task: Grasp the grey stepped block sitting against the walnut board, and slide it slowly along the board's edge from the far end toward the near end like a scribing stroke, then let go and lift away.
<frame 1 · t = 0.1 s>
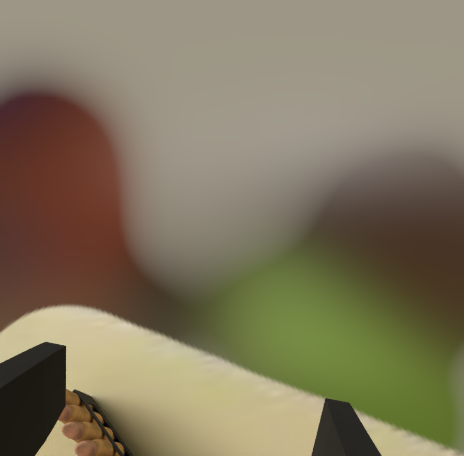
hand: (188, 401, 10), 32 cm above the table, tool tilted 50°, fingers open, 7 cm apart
ammunition clip: (112, 445, 38), on the table
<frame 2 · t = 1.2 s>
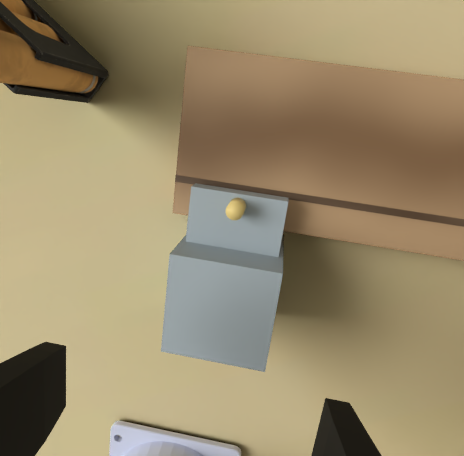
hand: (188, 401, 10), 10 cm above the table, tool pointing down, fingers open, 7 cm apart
ammunition clip: (15, 8, 18), on the table
board: (404, 163, 17), on the table
grey stepped block: (234, 267, 20), on the table
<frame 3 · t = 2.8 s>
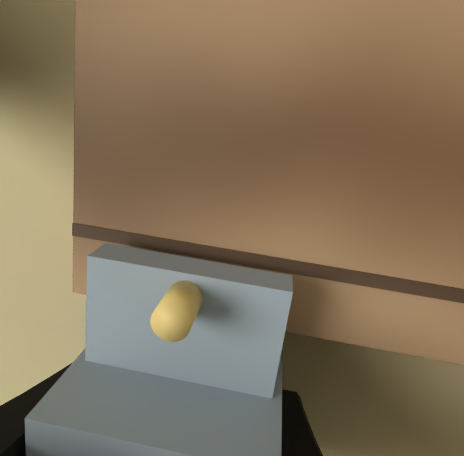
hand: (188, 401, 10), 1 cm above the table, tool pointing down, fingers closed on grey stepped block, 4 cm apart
grey stepped block: (199, 369, 12), on the table, touching gripper
when the fingers open (2 cm above the table, at t = 7.8 s): grey stepped block stays where it is, on the table.
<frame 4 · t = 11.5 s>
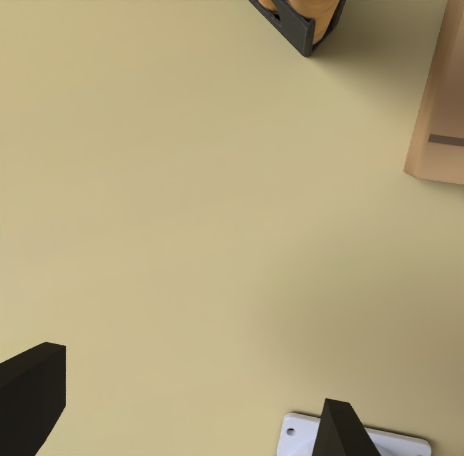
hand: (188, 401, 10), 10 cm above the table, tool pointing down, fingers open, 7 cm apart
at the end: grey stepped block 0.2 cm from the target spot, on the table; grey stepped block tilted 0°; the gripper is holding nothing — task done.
